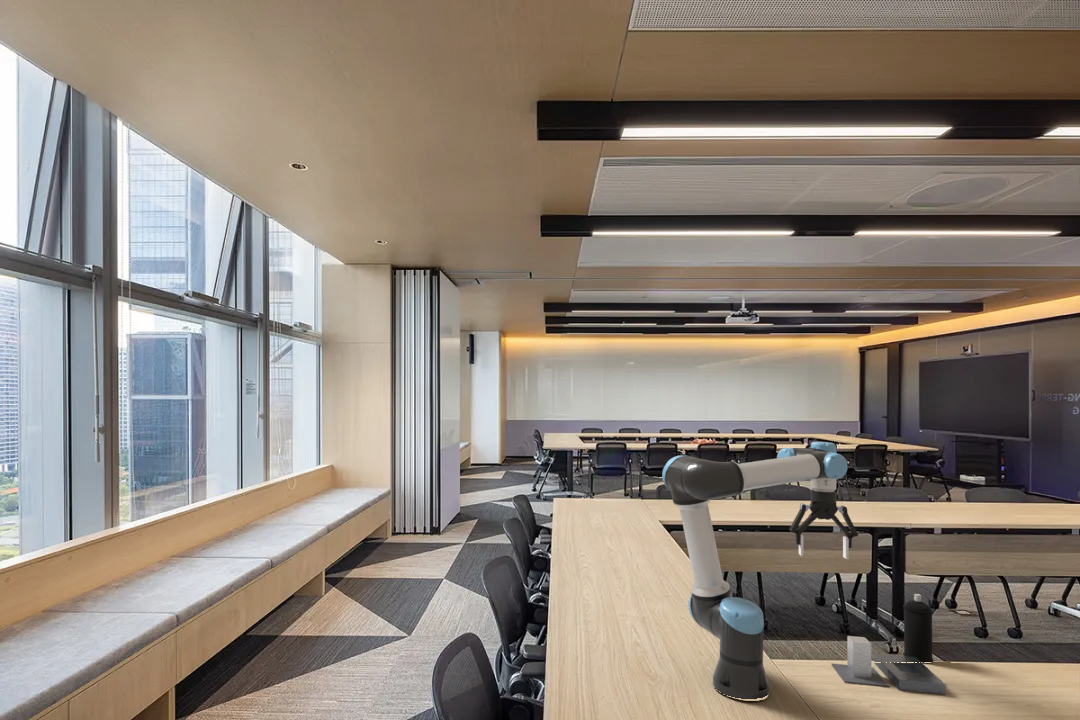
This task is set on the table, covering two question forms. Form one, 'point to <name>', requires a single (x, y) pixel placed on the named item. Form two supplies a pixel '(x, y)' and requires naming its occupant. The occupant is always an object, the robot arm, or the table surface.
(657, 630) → the table surface
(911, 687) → the square hole plate
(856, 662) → the rectangular peg block
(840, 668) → the rubber pad
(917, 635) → the aerosol can
